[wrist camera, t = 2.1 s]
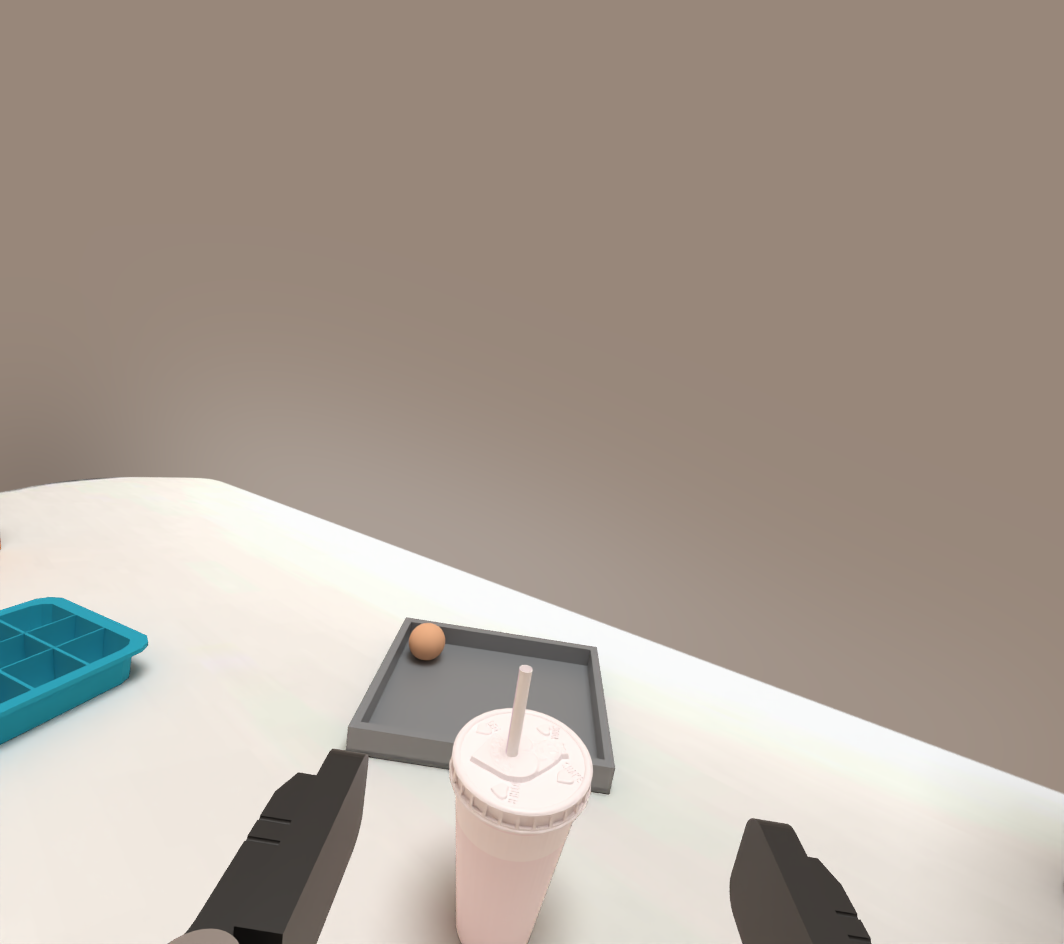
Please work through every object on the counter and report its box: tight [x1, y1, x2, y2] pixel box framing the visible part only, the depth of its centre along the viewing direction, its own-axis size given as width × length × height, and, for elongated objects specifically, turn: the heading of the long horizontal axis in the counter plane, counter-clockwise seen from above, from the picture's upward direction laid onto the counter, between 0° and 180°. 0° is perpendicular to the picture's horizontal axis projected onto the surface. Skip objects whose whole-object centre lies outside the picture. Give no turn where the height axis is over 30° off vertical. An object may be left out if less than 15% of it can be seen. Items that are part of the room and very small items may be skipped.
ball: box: [409, 623, 445, 660], centre depth 45 cm, size 3×3×3 cm
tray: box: [346, 618, 615, 794], centre depth 42 cm, size 17×14×2 cm
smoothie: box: [449, 665, 593, 944], centre depth 25 cm, size 6×6×14 cm
